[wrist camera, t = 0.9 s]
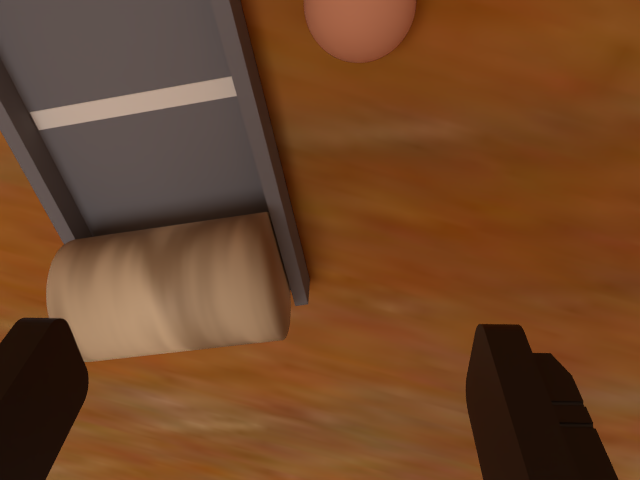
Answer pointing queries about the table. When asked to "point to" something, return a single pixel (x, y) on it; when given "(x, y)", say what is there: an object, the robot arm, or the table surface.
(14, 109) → the runway
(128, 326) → the log roller
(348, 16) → the ball
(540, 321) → the table surface
